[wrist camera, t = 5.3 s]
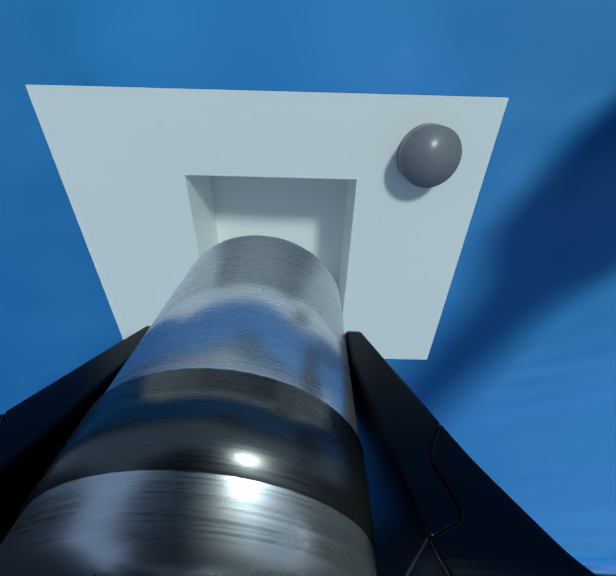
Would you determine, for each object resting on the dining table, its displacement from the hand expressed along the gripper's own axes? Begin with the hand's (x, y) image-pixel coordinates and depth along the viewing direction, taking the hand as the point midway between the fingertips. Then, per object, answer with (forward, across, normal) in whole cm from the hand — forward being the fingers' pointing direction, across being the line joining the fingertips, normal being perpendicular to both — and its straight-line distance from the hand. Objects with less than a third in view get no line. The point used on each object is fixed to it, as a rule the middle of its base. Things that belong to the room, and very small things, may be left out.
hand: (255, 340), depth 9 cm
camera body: (+10, 0, 0) cm, 11 cm away
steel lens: (+2, 0, 0) cm, 2 cm away
